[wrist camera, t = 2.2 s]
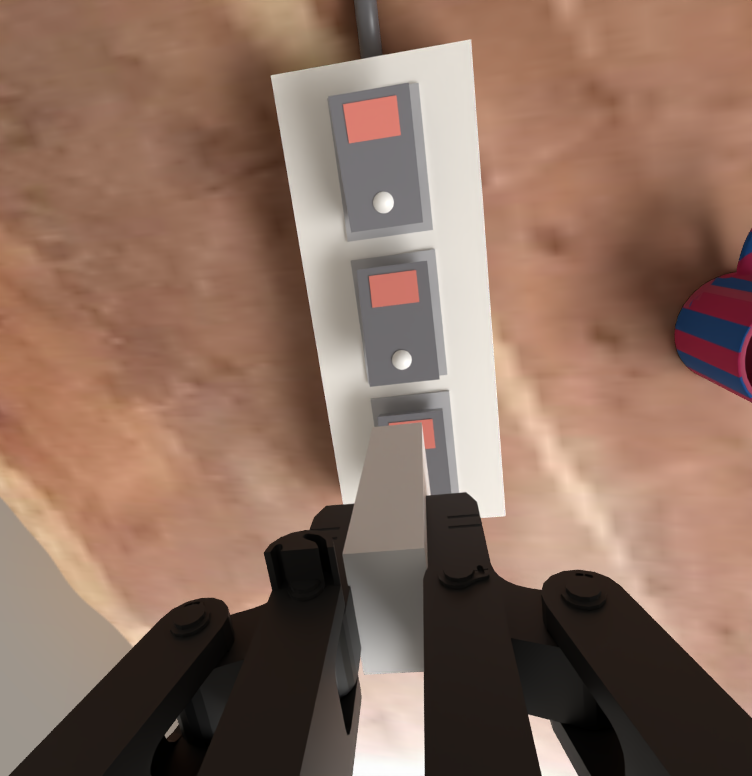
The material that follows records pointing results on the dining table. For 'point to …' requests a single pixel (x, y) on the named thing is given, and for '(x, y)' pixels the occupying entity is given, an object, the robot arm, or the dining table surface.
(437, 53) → the strip
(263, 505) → the dining table surface
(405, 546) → the robot arm
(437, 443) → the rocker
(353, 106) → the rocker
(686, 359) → the mug
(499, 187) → the dining table surface
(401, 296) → the rocker mid
